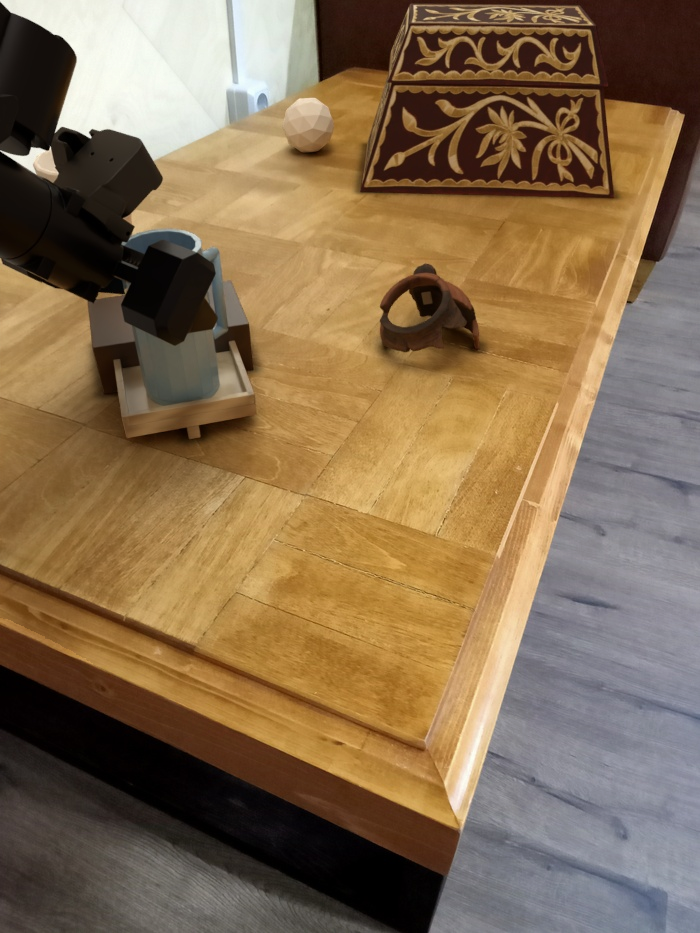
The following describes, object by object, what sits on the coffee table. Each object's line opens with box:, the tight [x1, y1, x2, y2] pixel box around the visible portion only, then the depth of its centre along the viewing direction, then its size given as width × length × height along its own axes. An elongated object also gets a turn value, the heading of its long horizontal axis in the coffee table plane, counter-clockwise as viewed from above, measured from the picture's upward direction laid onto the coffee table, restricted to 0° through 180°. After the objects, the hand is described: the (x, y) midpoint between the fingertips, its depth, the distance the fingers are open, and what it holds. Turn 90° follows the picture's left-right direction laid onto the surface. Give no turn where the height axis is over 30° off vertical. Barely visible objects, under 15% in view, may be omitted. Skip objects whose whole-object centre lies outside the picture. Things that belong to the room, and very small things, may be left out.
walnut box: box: [86, 279, 257, 440], centre depth 71 cm, size 14×18×5 cm
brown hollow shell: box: [379, 263, 481, 353], centre depth 77 cm, size 12×10×8 cm
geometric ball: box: [282, 97, 335, 153], centre depth 119 cm, size 8×8×8 cm
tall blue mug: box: [121, 228, 228, 406], centre depth 65 cm, size 9×6×13 cm
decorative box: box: [359, 2, 615, 199], centre depth 108 cm, size 35×19×20 cm, turn 86°
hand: (174, 305), depth 63 cm, fingers open, 9 cm apart
